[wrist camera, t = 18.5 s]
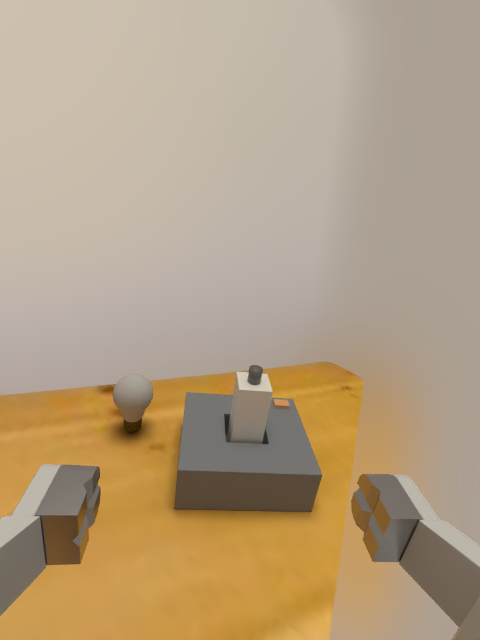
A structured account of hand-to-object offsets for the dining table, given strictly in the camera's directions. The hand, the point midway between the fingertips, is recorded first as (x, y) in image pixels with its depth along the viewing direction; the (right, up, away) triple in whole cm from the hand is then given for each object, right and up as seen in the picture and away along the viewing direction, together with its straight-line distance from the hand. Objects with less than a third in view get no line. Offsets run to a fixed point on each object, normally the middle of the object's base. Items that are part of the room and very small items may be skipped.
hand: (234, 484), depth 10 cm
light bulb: (-17, -13, +44) cm, 49 cm away
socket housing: (0, -17, +40) cm, 43 cm away
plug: (0, -14, +39) cm, 42 cm away
